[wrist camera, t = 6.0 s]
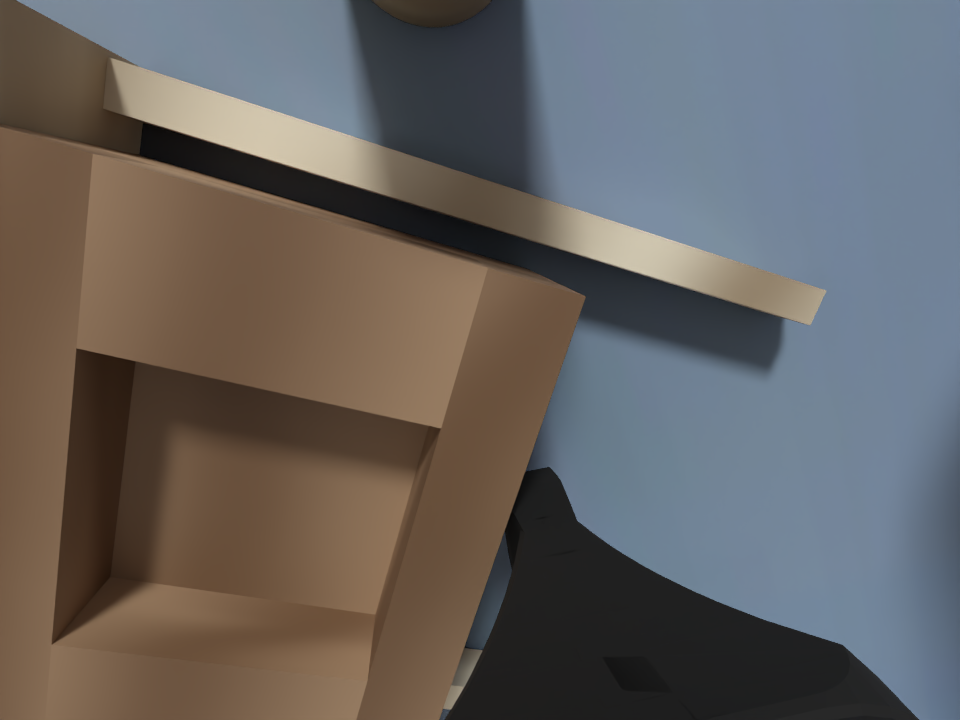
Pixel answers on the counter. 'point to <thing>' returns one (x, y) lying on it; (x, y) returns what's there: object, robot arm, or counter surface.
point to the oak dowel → (432, 11)
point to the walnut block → (247, 444)
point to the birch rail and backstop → (337, 169)
